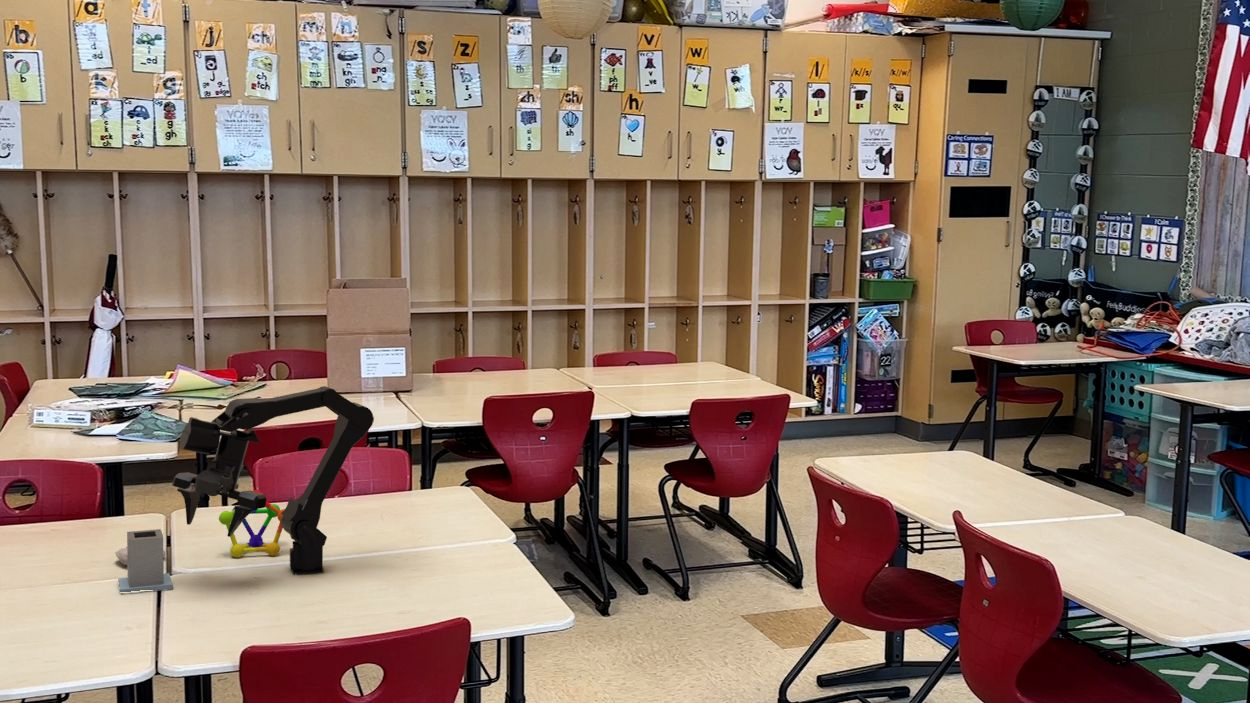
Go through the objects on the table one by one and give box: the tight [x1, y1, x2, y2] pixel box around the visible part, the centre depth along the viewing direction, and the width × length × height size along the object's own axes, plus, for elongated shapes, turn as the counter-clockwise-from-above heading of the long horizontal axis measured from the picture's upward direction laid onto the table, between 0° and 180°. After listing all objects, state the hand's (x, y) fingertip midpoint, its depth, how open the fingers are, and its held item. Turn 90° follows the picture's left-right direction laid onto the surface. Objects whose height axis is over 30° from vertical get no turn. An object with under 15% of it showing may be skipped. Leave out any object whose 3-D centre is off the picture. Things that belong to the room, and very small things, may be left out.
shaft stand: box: [117, 572, 174, 593], centre depth 243 cm, size 10×8×4 cm
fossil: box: [115, 546, 166, 566], centre depth 259 cm, size 12×4×10 cm
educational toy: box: [218, 489, 285, 558], centre depth 269 cm, size 16×13×15 cm
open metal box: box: [126, 528, 165, 588], centre depth 243 cm, size 7×7×10 cm
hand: (208, 530), depth 245 cm, fingers open, 9 cm apart
